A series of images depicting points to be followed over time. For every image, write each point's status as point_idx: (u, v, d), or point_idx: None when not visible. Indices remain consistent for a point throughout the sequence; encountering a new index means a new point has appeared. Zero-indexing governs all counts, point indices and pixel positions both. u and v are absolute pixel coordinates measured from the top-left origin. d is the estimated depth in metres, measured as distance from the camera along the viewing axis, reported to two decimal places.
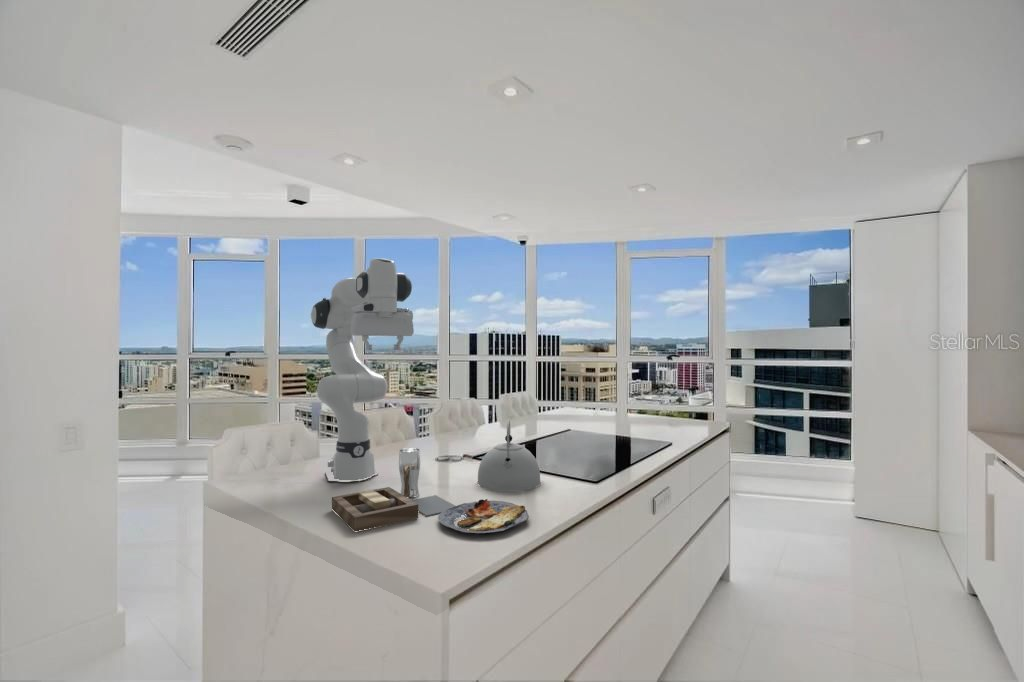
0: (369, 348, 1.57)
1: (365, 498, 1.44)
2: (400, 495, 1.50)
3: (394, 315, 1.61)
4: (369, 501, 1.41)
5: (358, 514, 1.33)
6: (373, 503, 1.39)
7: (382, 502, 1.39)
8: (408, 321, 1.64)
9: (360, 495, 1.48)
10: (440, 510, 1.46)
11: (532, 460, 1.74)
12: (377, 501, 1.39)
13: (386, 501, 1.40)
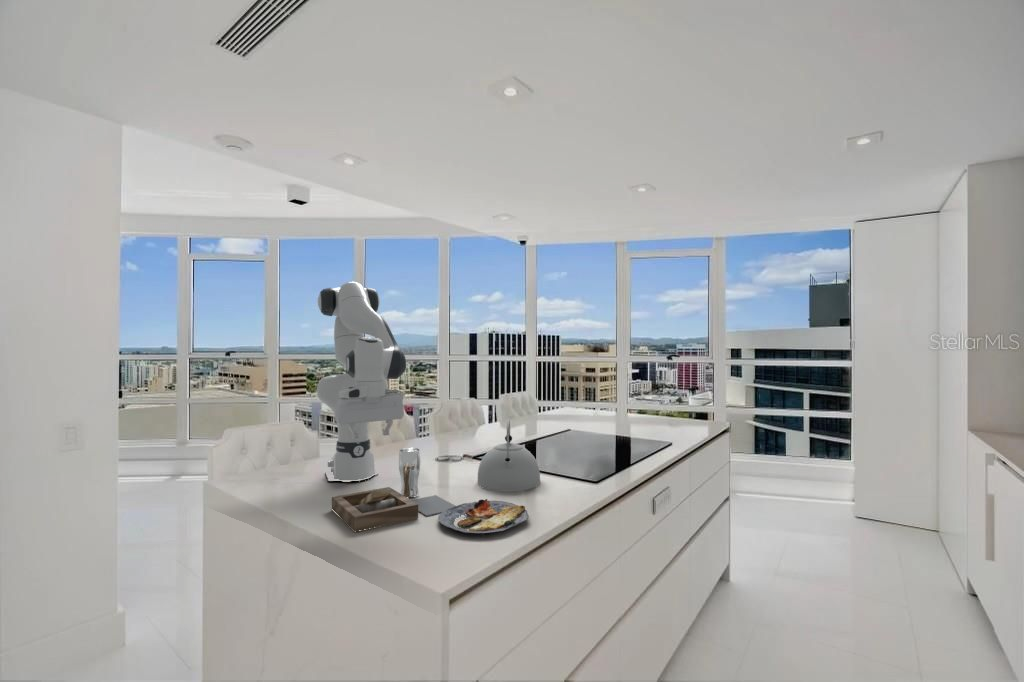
0: (355, 437, 1.45)
1: (364, 499, 1.44)
2: (400, 495, 1.50)
3: (382, 398, 1.49)
4: (368, 496, 1.42)
5: (358, 514, 1.33)
6: (371, 493, 1.40)
7: (380, 491, 1.40)
8: (398, 404, 1.52)
9: (360, 502, 1.48)
10: (440, 510, 1.46)
11: (532, 460, 1.74)
12: (375, 491, 1.40)
13: (384, 490, 1.41)
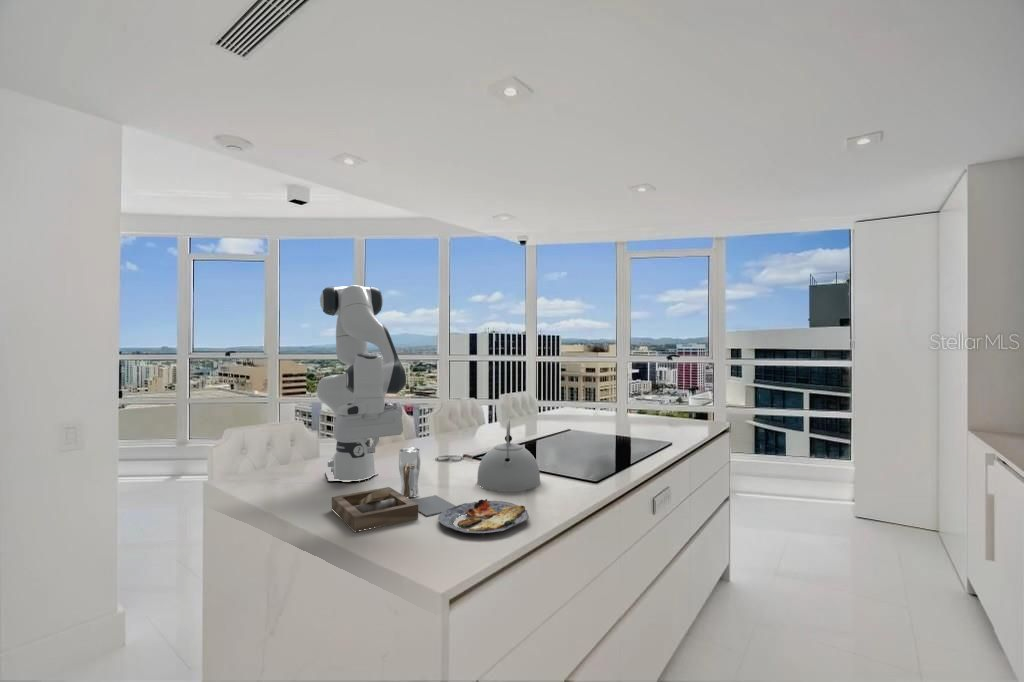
0: (367, 452, 1.46)
1: (364, 499, 1.44)
2: (400, 495, 1.50)
3: (381, 415, 1.48)
4: (368, 497, 1.42)
5: (358, 514, 1.33)
6: (372, 494, 1.40)
7: (380, 491, 1.40)
8: (397, 420, 1.51)
9: (360, 502, 1.48)
10: (440, 510, 1.46)
11: (532, 460, 1.74)
12: None
13: (384, 490, 1.41)
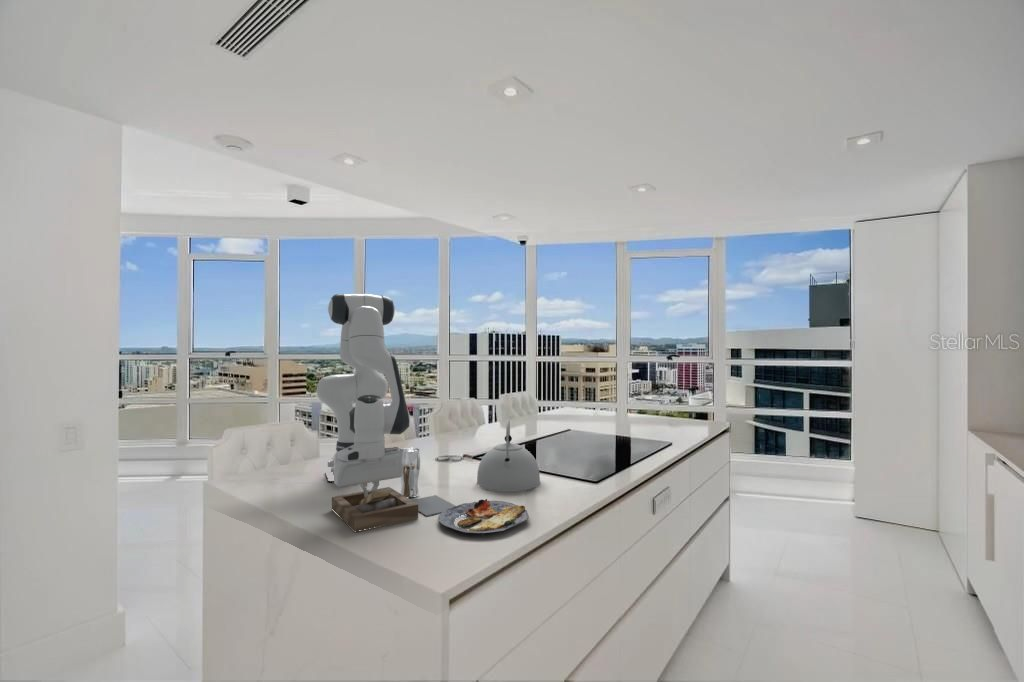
0: None
1: (364, 499, 1.44)
2: (400, 495, 1.50)
3: (382, 458, 1.48)
4: (368, 497, 1.42)
5: (358, 514, 1.33)
6: (371, 493, 1.40)
7: (380, 491, 1.40)
8: (397, 462, 1.51)
9: (360, 502, 1.48)
10: (440, 510, 1.46)
11: (532, 460, 1.74)
12: None
13: (384, 490, 1.41)
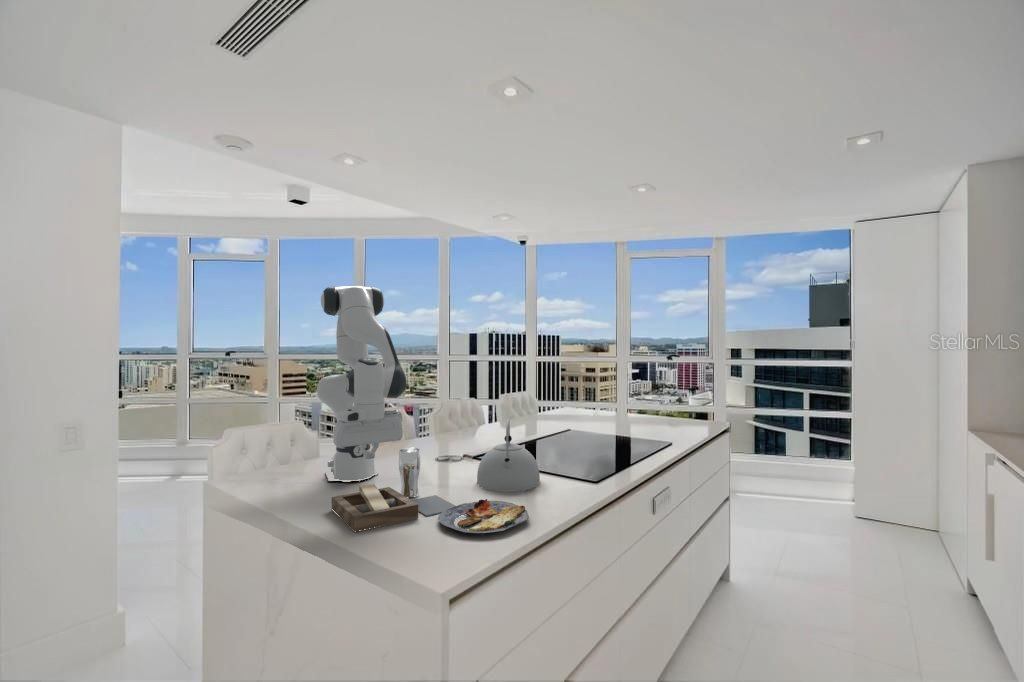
0: (367, 458, 1.47)
1: (366, 497, 1.44)
2: (400, 495, 1.50)
3: (381, 420, 1.48)
4: (369, 504, 1.41)
5: (358, 514, 1.33)
6: (373, 510, 1.38)
7: None
8: (397, 425, 1.51)
9: (361, 489, 1.47)
10: (440, 510, 1.46)
11: (531, 460, 1.74)
12: (377, 509, 1.39)
13: None
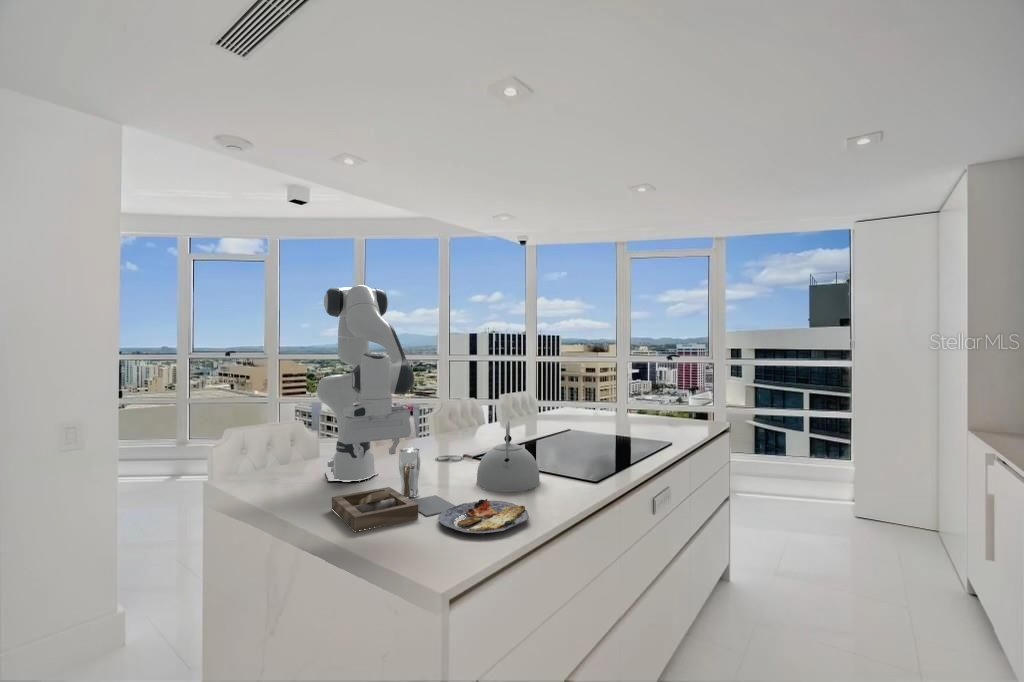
0: (360, 457, 1.39)
1: (364, 499, 1.44)
2: (400, 495, 1.50)
3: (389, 416, 1.43)
4: (368, 497, 1.42)
5: (358, 514, 1.33)
6: (372, 494, 1.39)
7: (380, 492, 1.40)
8: (405, 421, 1.46)
9: (360, 501, 1.48)
10: (440, 510, 1.46)
11: (531, 460, 1.74)
12: None
13: (384, 491, 1.41)
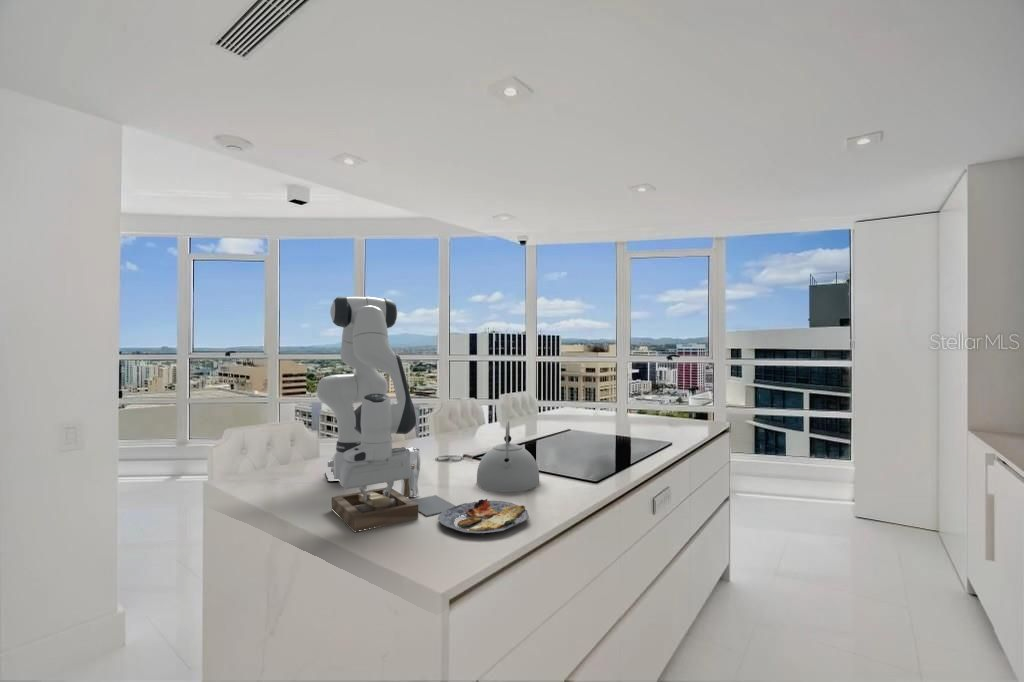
0: (367, 500, 1.40)
1: None
2: (400, 495, 1.50)
3: (389, 459, 1.43)
4: None
5: (358, 514, 1.33)
6: (373, 501, 1.39)
7: (382, 500, 1.39)
8: (405, 463, 1.46)
9: (360, 496, 1.48)
10: (440, 510, 1.46)
11: (531, 461, 1.74)
12: (377, 499, 1.39)
13: (386, 499, 1.40)
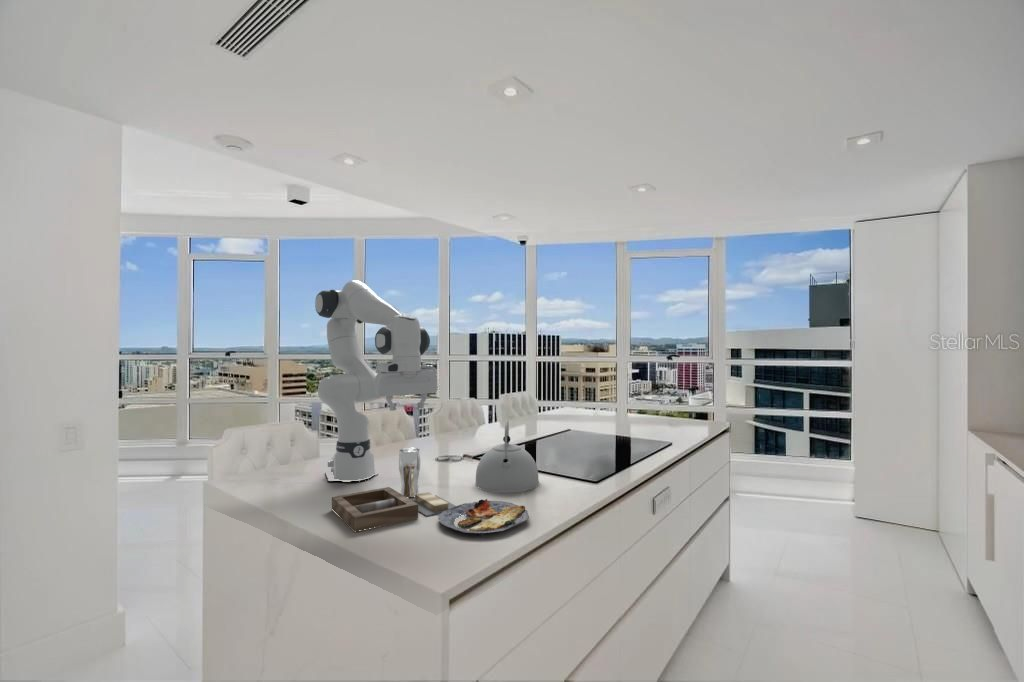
0: (393, 409, 1.54)
1: (423, 500, 1.51)
2: (400, 495, 1.50)
3: (418, 373, 1.58)
4: (428, 504, 1.49)
5: (358, 514, 1.33)
6: (433, 506, 1.46)
7: (441, 505, 1.46)
8: (432, 379, 1.61)
9: (417, 497, 1.55)
10: None
11: (530, 461, 1.73)
12: (436, 504, 1.46)
13: (445, 504, 1.47)
